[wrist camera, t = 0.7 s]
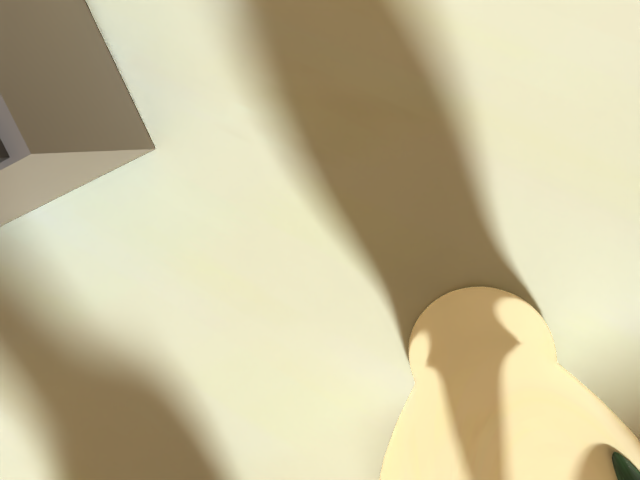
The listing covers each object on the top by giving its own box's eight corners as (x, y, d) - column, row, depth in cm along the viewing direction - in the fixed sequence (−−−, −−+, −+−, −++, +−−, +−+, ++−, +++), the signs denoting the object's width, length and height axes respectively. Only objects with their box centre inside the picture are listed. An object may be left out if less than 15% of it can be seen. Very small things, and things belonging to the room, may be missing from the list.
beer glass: (379, 296, 23) (294, 568, 9) (542, 257, 21) (780, 515, 7) (422, 436, 24) (411, 896, 9) (582, 409, 22) (869, 926, 8)
